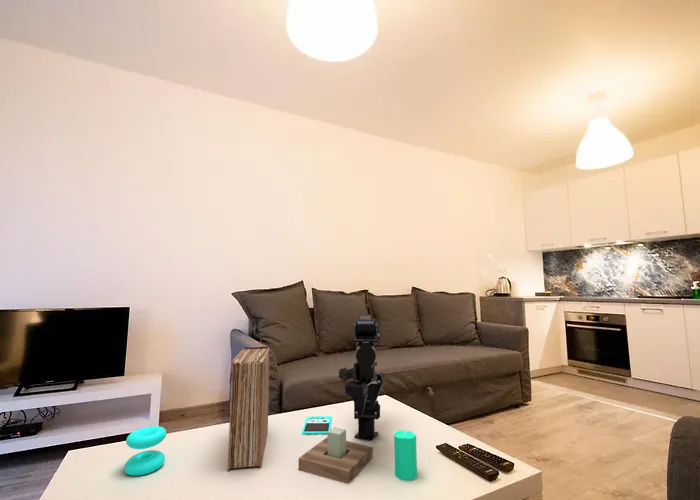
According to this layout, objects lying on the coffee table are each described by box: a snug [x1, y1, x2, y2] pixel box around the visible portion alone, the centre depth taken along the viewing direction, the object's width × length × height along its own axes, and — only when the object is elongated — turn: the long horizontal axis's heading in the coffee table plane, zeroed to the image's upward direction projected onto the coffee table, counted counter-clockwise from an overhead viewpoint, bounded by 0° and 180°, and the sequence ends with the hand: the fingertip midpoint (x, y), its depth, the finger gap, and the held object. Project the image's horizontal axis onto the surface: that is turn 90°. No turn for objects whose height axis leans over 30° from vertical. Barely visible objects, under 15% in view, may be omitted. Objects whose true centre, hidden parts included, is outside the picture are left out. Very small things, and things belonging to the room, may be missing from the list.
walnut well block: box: [298, 436, 374, 485], centre depth 99 cm, size 16×16×3 cm
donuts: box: [123, 425, 167, 476], centre depth 97 cm, size 10×10×10 cm
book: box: [227, 346, 271, 472], centre depth 109 cm, size 25×9×30 cm, turn 9°
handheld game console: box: [301, 415, 332, 436], centre depth 127 cm, size 10×16×1 cm, turn 1°
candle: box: [393, 429, 418, 482], centre depth 93 cm, size 6×6×12 cm
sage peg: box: [327, 426, 347, 459], centre depth 99 cm, size 4×4×9 cm
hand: (366, 411), depth 105 cm, fingers open, 9 cm apart
